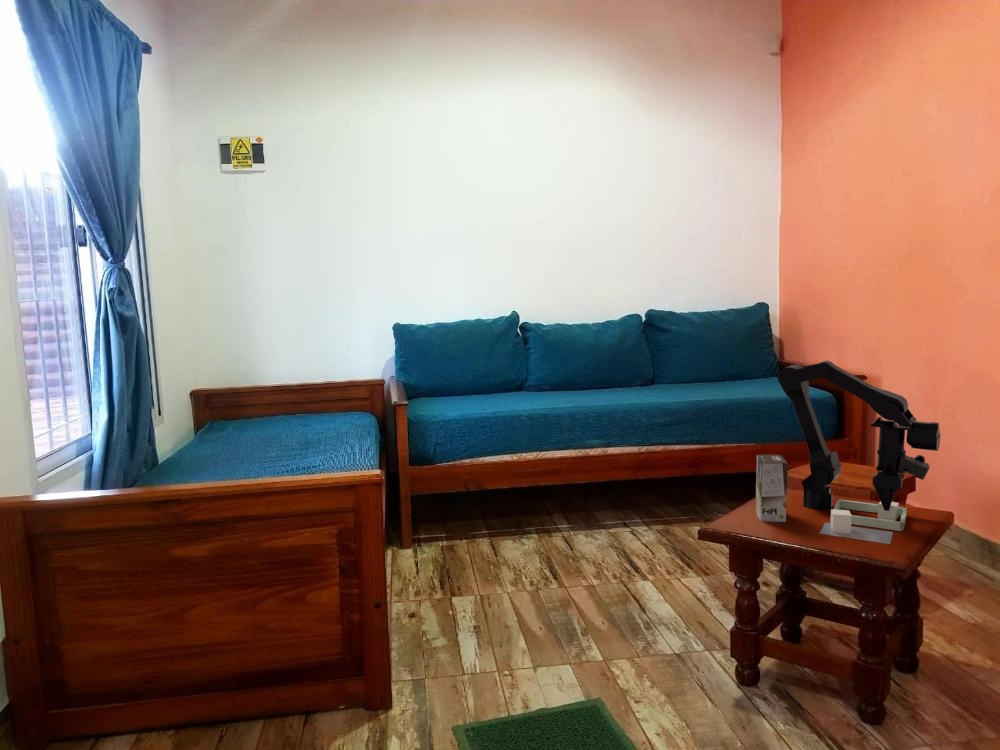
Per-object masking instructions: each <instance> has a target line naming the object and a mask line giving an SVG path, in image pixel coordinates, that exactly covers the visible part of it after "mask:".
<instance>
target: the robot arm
mask: <svg viewBox="0 0 1000 750" xmlns="http://www.w3.org/2000/svg"><path fill="white" fill-rule="evenodd" d="M820 378H823V379H825V380H827V381H829V382H830V383H832V384H834V385H836V386H837V387H839V388H841V389H843V390H844V391H846V392H847V393H849V394H852V395H853V396H855V397H857V398H858V399H860V400H861V401H863V402H865V403H866V404H867V405H868V406H869V407H870V408H871V409H872V411H874V412H875V413H877V414H878V415H879V416H878V417H877V418H876V419H875V421H873V422H871V423H870V427H872V428H879V431H878V444H877V445H878V449H877V453H876V454H877V464H876V472H875V473H874V474H873V476H872V483H871V484H872V486H873V487H874V489H875V491H876V494H877V496H878V498H879V502H880V501H881V503H882V506H883V508H884V510H885V511H889V509H890V506H891V502H893V498H894V496H895V495H894V494H895V493H896V492H898V491H900V490H901V488H903V487H902V486H903V479H904V478H905V475H906V473H907V474H909V475H911V476H914V477H916V478H917V479H918V480H919V479H920V480H922V481H923V480H925V478H926V475H927V473H928V472H929V470H930V464H929V463H928V462H926V459H925V456H923V455H921V454H917V455H916V456H915V457H913V456H908V455H907V454H906V453H907V450H905V442H906V444H908V446H910V448H911V449H916V450H923V451H924V450H926V451H935V452H939V449H940V446H941V436H942V435H941V434H940V433H941V432H940V423H939V422H936V421H935V422H934V421H933V422H927V421H918V420H917V418H916V417H915V416H914V414H913V413H912V412H911V411H910V409H909V403H908V400H907V398H905V397H904V396H903V395H900V394H897V393H894V392H892V391H889V390H886V389H882V388H880V387H879V388H878V387H876V386H873V385H872V384H870V383H868V382H866V381H864V380H862V379H861V378H859V377H857V376H856V375H854V374H852V373H850V372H848V371H846V370H844V369H843V368H841V367H839V366H838V365H836V364H834V363H833V362H832V361H830V360H823V361H821V362H819V363H818V362H817V363H813V364H810V365H804V366H801V365H798V364H792V365H789V366H786V367H783V368H782V369H781V370H780V371H779V373H778V375H777V381H778V383H779V385H780V387H781V389H782V390H783V392H784V393H785V395H786V396H787V398H789V400H790V401H791V403H792V406H793V409H794V411H795V415H796V417H797V420H798V423H799V426H800V429H801V432H802V435H803V437H804V440H805V443H806V446H807V448H808V449H807V450H808V452H809V463H808V464H809V469H810V475H808V476H807V477H805V478H804V479H803V480H801V485H802V489H803V495H802V496H803V498H802V499H803V500H802V501H803V502H802V506H803V507H807V508H809V509H812V510H831V509H832V508H833V500H834V499H833V498H834V497H833V496H834V493H833V492H831V490H832V489H831V488H832V486H830V485H832V483H833V482H834V481H835V480H836V479H838V478H839V476H840V474H841V467H843V464H842V463H841V462H840V460H839V455H838V451H833V452H831V450H830V449H829V448H828V447H827V444H826V441H825V439H824V436H823V432H822V430H821V426H820V425H819V422H818V418H817V416H816V412H815V410H814V408H813V404H812V402H811V399H810V384H809V381H812V380H815V379H816V380H817V379H820ZM905 437H906V438H905ZM905 439H906V441H905Z"/></svg>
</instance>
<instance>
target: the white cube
mask: <svg viewBox="0 0 1000 750" xmlns="http://www.w3.org/2000/svg"><path fill="white" fill-rule="evenodd" d="M852 515H853V514H851V511H850V509H840V510H835V509H834V508H833V509H832V508H831V509H830V522H829V523H830V528H831V530H832V532H833V533H847V534H851V526H852V524H851V519H852Z"/></svg>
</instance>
